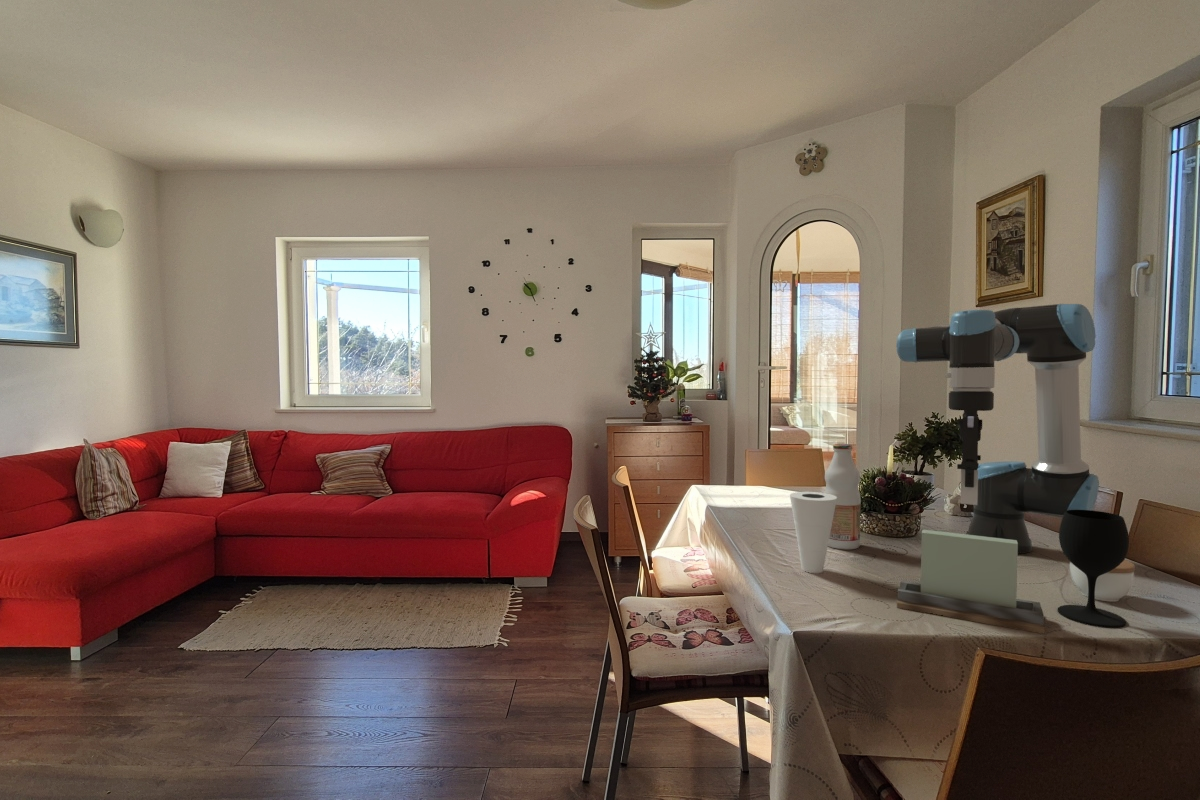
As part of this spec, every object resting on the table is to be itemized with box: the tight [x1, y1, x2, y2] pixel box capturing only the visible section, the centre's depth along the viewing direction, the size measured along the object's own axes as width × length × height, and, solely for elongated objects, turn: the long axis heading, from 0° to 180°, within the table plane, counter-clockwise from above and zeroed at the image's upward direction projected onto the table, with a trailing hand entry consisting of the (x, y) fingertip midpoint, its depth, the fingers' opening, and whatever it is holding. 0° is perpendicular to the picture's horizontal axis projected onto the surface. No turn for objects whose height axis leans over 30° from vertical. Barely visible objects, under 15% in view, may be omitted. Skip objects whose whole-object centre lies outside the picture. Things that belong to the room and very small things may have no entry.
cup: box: [789, 491, 837, 574], centre depth 145 cm, size 11×11×18 cm
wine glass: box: [1057, 510, 1130, 629], centre depth 116 cm, size 10×10×20 cm
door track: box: [896, 580, 1045, 635], centre depth 119 cm, size 24×10×3 cm, turn 58°
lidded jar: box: [1069, 559, 1136, 603], centre depth 127 cm, size 11×11×9 cm
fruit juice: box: [823, 443, 862, 550], centre depth 166 cm, size 9×9×28 cm
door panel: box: [920, 529, 1019, 608], centre depth 119 cm, size 16×3×14 cm, turn 58°
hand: (968, 497), depth 118 cm, fingers open, 13 cm apart
